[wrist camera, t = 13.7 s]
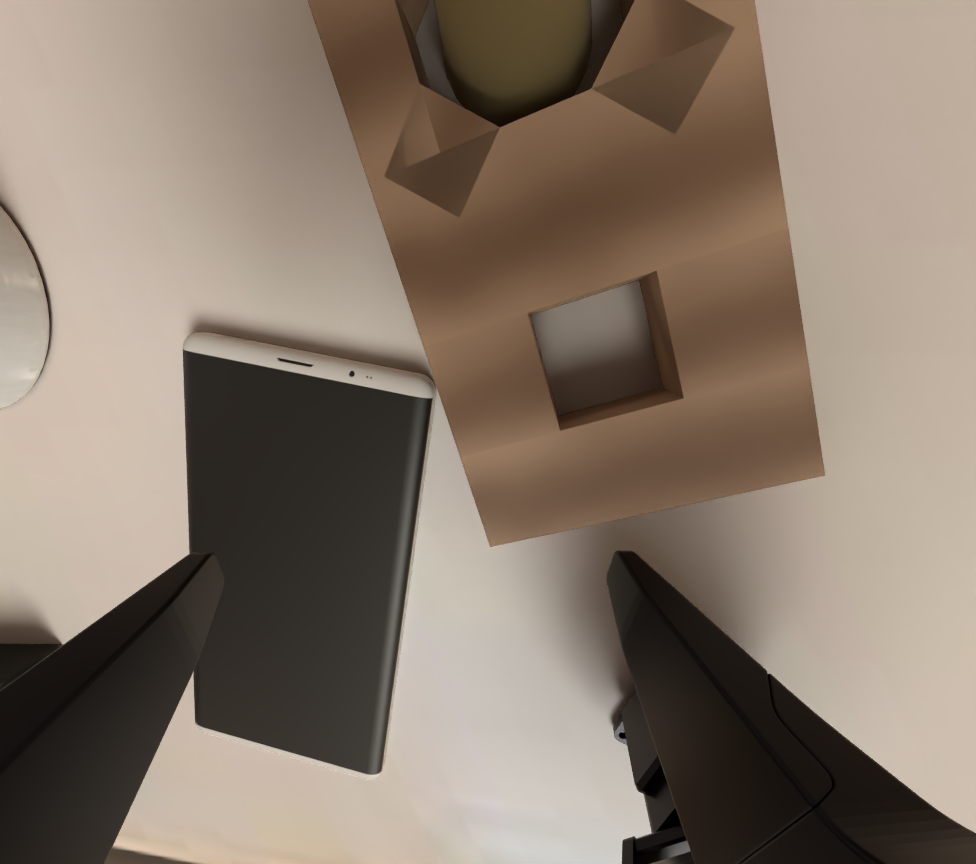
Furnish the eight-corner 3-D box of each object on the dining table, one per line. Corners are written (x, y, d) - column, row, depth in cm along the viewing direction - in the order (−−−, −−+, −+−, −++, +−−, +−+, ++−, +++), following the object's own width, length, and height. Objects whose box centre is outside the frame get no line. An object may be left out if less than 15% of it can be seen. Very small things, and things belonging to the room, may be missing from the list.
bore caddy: (294, -107, 17) (241, -200, 14) (652, -324, 14) (680, -497, 11) (497, 518, 22) (490, 547, 19) (783, 453, 19) (825, 475, 16)
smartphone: (210, 711, 30) (190, 734, 28) (202, 328, 22) (174, 329, 21) (387, 761, 28) (377, 788, 27) (441, 375, 21) (432, 379, 19)
